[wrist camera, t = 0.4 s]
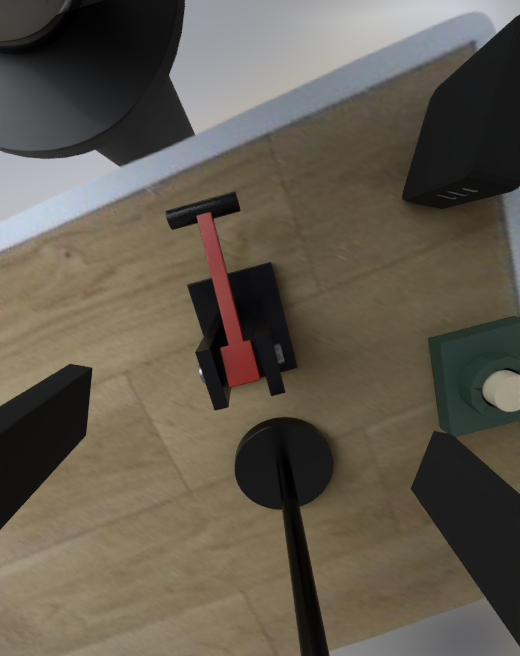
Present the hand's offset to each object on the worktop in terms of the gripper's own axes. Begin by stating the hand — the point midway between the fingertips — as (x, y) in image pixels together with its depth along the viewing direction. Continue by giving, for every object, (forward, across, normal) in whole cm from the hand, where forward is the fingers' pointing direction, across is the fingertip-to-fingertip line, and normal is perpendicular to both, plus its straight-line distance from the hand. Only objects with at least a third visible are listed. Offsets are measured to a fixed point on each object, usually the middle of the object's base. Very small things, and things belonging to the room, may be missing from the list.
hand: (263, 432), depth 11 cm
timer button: (+19, +27, -1) cm, 33 cm away
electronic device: (+22, +14, +20) cm, 33 cm away
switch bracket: (+22, -1, -1) cm, 22 cm away
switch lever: (+13, -3, +3) cm, 14 cm away
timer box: (+22, +27, -1) cm, 35 cm away
